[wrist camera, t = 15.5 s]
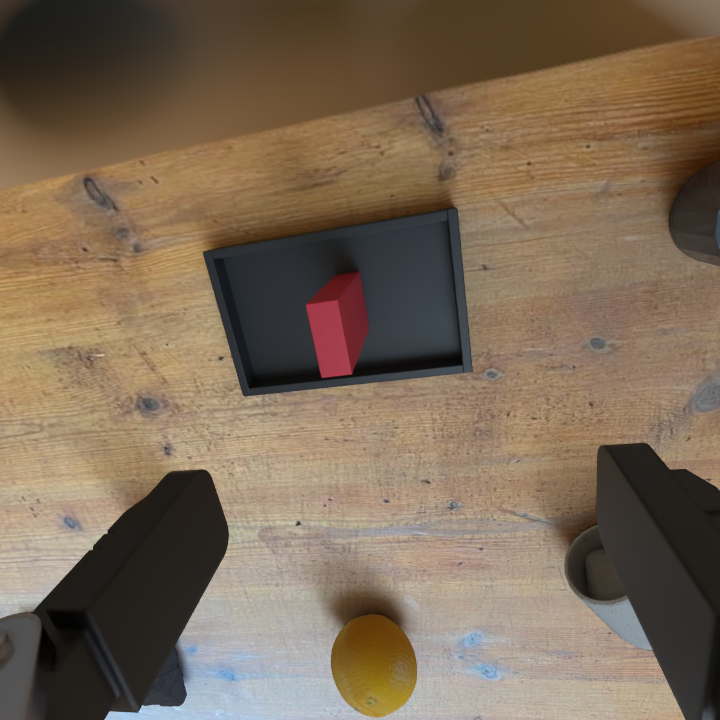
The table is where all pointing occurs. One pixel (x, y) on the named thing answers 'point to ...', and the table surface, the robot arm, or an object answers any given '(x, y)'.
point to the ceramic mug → (602, 587)
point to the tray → (381, 293)
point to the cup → (698, 216)
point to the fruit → (374, 665)
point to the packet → (338, 324)
